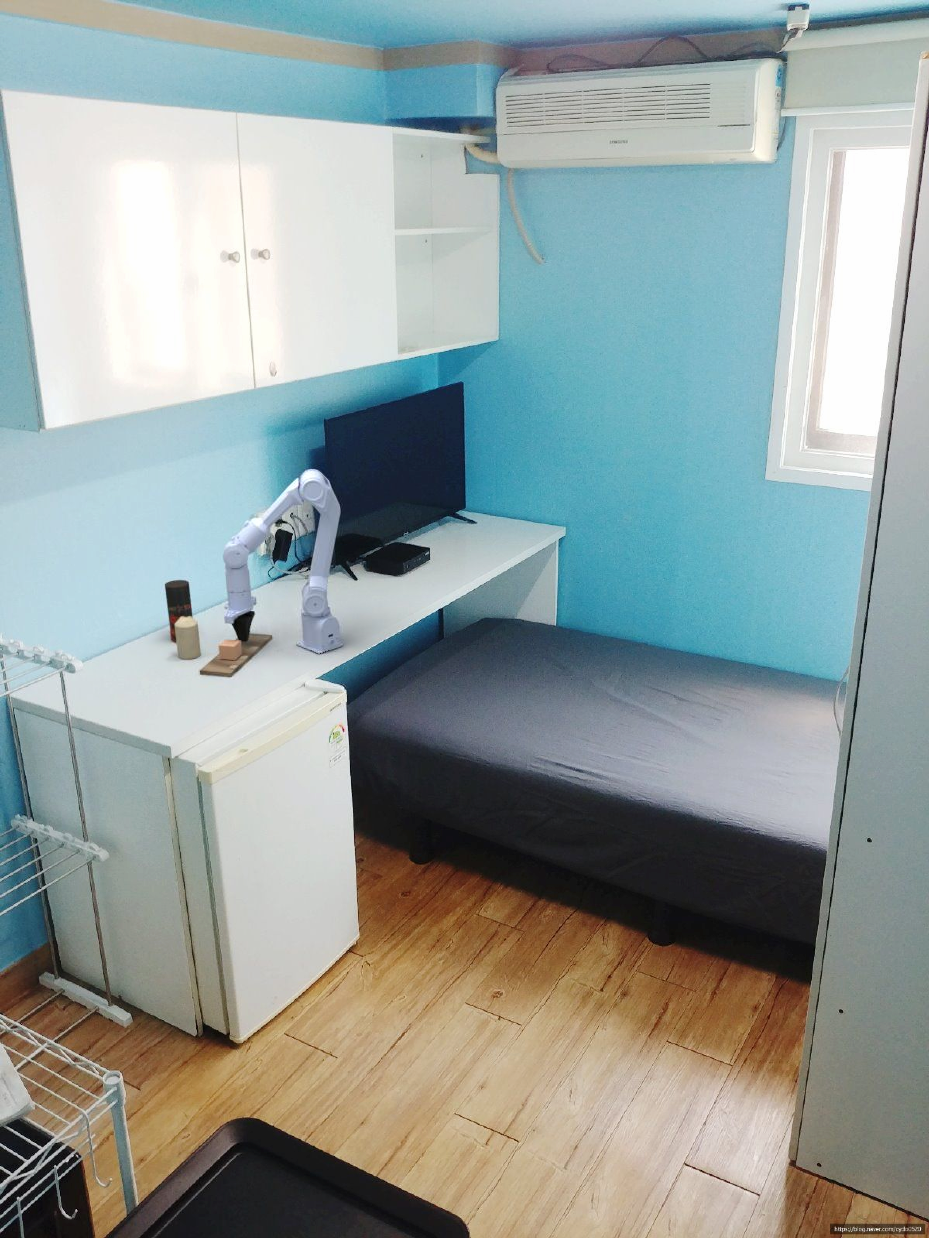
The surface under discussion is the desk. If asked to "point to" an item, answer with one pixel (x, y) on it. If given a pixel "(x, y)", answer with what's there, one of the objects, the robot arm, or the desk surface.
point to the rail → (232, 666)
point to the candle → (187, 638)
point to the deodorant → (177, 603)
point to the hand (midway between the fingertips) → (243, 640)
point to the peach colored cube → (230, 649)
